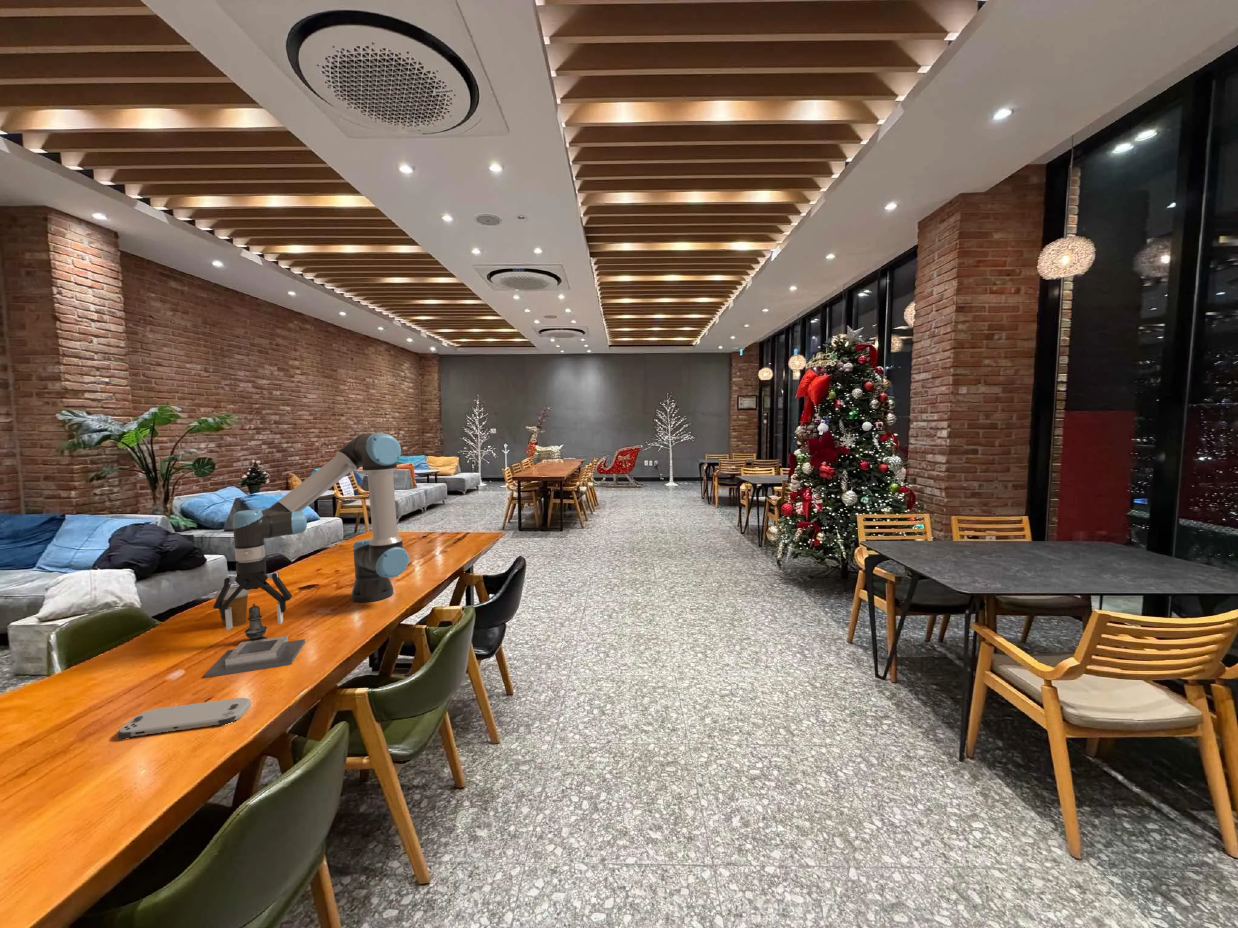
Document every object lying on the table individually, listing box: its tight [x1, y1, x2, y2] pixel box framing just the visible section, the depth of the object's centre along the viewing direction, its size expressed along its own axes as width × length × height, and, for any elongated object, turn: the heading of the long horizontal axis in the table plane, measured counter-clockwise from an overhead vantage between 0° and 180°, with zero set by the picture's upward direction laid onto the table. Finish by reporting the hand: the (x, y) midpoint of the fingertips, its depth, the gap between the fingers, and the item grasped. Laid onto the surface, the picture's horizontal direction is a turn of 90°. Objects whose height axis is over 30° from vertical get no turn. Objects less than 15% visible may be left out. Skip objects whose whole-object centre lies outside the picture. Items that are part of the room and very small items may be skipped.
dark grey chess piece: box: [244, 603, 268, 641], centre depth 159 cm, size 6×6×12 cm
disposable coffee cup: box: [214, 585, 250, 628], centre depth 174 cm, size 10×10×12 cm
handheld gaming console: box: [117, 697, 252, 740], centre depth 115 cm, size 23×3×10 cm
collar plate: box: [204, 635, 306, 679], centre depth 146 cm, size 20×16×4 cm
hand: (255, 625), depth 159 cm, fingers open, 13 cm apart
